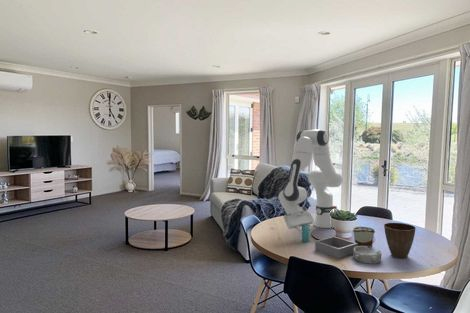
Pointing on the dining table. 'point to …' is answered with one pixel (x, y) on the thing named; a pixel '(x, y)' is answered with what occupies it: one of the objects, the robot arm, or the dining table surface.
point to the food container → (363, 236)
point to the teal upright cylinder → (305, 234)
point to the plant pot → (399, 238)
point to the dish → (366, 255)
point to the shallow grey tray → (327, 247)
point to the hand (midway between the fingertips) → (306, 231)
